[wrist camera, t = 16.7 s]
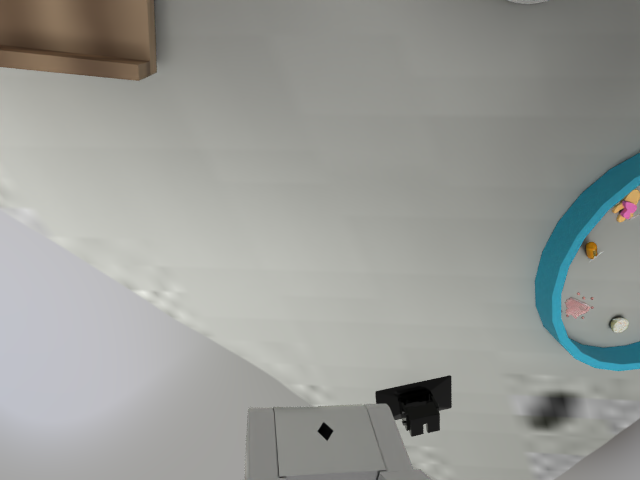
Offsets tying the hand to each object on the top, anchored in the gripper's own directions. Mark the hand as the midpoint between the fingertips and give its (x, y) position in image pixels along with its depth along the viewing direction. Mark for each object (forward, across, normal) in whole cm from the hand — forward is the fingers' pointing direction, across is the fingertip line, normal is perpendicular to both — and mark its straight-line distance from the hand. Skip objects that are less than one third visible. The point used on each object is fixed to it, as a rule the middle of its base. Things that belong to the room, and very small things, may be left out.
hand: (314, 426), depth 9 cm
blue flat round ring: (+36, -49, +13) cm, 62 cm away
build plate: (+36, -22, +35) cm, 55 cm away
